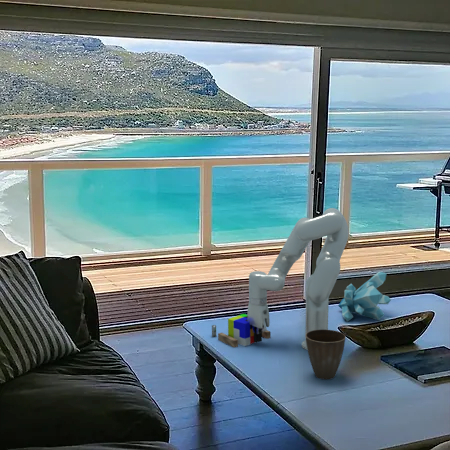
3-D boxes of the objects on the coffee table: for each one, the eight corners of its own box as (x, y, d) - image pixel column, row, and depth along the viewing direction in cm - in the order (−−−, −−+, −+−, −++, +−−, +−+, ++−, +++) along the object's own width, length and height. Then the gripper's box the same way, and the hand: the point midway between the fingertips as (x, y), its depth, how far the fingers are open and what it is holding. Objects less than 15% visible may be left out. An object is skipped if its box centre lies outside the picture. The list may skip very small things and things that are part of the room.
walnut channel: (270, 338, 290) (270, 331, 289) (234, 347, 279) (234, 340, 278) (254, 331, 300) (254, 324, 299) (218, 339, 288) (218, 333, 288)
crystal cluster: (391, 327, 304) (390, 285, 299) (335, 326, 310) (334, 284, 306) (391, 310, 325) (390, 270, 320) (338, 309, 331) (337, 270, 326)
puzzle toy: (245, 346, 280) (245, 323, 279) (228, 340, 287) (227, 319, 285) (260, 340, 287) (260, 318, 286) (243, 335, 294) (243, 313, 293)
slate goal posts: (248, 328, 303) (248, 318, 302) (213, 337, 292) (213, 326, 291) (245, 327, 304) (245, 317, 304) (211, 336, 293) (210, 325, 292)
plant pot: (297, 372, 252) (298, 332, 249) (330, 365, 258) (331, 327, 255) (318, 386, 238) (318, 344, 236) (352, 379, 244) (353, 338, 241)
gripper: (275, 303, 274) (275, 344, 277) (253, 295, 286) (253, 335, 289) (262, 306, 270) (261, 348, 273) (240, 298, 282) (240, 338, 285)
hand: (257, 341), depth 281 cm, fingers closed
